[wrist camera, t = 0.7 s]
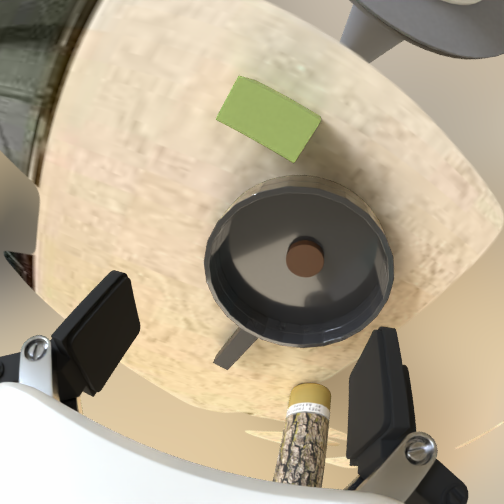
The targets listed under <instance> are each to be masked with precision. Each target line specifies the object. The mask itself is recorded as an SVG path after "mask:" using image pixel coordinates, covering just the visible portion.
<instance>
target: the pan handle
mask: <svg viewBox="0 0 504 504" xmlns="http://www.w3.org/2000/svg"><path fill="white" fill-rule="evenodd" d="M257 339H258V337H256V336H254V335H252V334H250V333H248V332H246V331H245V330H243V329H242V328H240V327H239V328H238V329H237V330H236V332H235V333H234V334H233V335H232V336H231V338H230V339H229V340H228V341H227V343H226V344H225V345H224V346H223V347H222V349H221V350H220V351H219V352H218V354H217V355H216V357H215V359H214V362H213V363H215V364H217V365H218V366H220V367H222V368H224V369H226V370H228V369H229V368H230V367H231V366H232V365H233V364H234V363H235V362H236V361H237V360H238V359H239V358H240V357H241V356H242V354H243V353H244V352H245V351H246V350H247V349H248V348H249V347H250V346H251V345H252V344H253V343H254V342H255V341H256V340H257Z"/></svg>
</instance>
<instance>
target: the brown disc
mask: <svg viewBox="0 0 504 504" xmlns="http://www.w3.org/2000/svg"><path fill="white" fill-rule="evenodd" d="M286 265H287V267H288V269H289V270H290V271H291V272H292V273H293V274H295V275H297V276H299V277H312V276H314V275H316V274H318V273H319V272H320V271H321V269H322V268H323V265H324V253H323V251H322V249H321V247H320V246H319V245H317V244H316V243H314V242H312V241H308V240H302V241H298V242H296V243H294V244H292V245H291V246H290V248H289V249H288V252H287V256H286Z"/></svg>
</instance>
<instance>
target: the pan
mask: <svg viewBox="0 0 504 504" xmlns="http://www.w3.org/2000/svg"><path fill="white" fill-rule="evenodd" d="M302 240H308V241H312V242H314V243H316V244H317V245H319V246H320V247H321V249H322V251H323V253H324V265H323V268H322V269H321V271H320V272H319V273H318V274H316V275H314V276H312V277H299V276H297V275H295V274H293V273H292V272H291V271H290V270H289V269H288V267H287V265H286V256H287V252H288V249H289V248H290V246H291V245H292V244H294V243H296V242H298V241H302ZM204 267H205V275H206V282H207V284H208V287H209V289H210V291H211V293H212V296H213V298H214V300H215V302H216V303H217V304H218V306H219V307H220V308H221V309H222V311H223V312H224V313H225V315H226V316H227V317H228V318H229V319H231V320H232V321H233V322H234V323H235V324H237V325H238V326H239V327H240V328H242V329H243V330H245V331H246V332H248V333H250V334H252V335H254V336H256V337H258V338H260V339H262V340H265V341H268V342H272V343H275V344H278V345H282V346H290V347H299V348H307V347H319V346H325V345H329V344H333V343H336V342H339V341H343V340H345V339H347V338H349V337H351V336H352V335H354V334H356V333H358V332H360V331H361V330H363V329H364V328H365V327H366V326H367V325H368V324H369V323H371V322H372V321H373V320H374V319H375V318H376V317H377V316H378V314H379V313H380V311H381V310H382V308H383V307H384V305H385V303H386V302H387V300H388V298H389V295H390V291H391V288H392V284H393V281H394V263H393V255H392V252H391V249H390V246H389V244H388V241H387V238H386V236H385V233H384V231H383V228H382V226H381V224H380V221H379V219H378V218H377V217H376V215H375V214H374V212H373V211H372V209H371V208H370V207H369V206H368V205H367V204H366V203H365V202H364V201H363V200H362V199H361V198H360V197H359V196H358V195H356V194H355V193H354V192H352V191H351V190H349V189H347V188H346V187H344V186H342V185H340V184H338V183H335V182H333V181H331V180H327V179H324V178H320V177H314V176H307V175H290V176H283V177H278V178H274V179H270V180H267V181H265V182H262V183H260V184H258V185H256V186H254V187H252V188H251V189H249V190H248V191H246V192H245V193H243V194H242V195H241V196H240V197H239V198H238V199H237V200H236V201H235V202H234V203H233V204H232V205H231V206H230V207H229V208H228V209H227V210H226V212H225V213H224V214H223V215H222V217H221V218H220V219H219V220H218V222H217V224H216V226H215V227H214V229H213V231H212V233H211V235H210V237H209V239H208V241H207V246H206V252H205V258H204Z"/></svg>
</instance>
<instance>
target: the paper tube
mask: <svg viewBox="0 0 504 504" xmlns="http://www.w3.org/2000/svg"><path fill="white" fill-rule="evenodd" d="M330 402H331V393H330V391H329V390H328V389H327V388H326V387H325V386H323V385H320V384H316V383H305V384H300V385H298V386H296V387H295V388H294V389H293V390H292V391H291V394H290V400H289V405H288V410H287V415H286V420H285V426H284V431H283V436H282V441H281V446H280V450H279V455H278V460H277V464H276V469H275V474H274V478H273V482H278V483H285V484H292V485H299V486H307V487H316V488H321V487H322V480H323V473H324V466H325V458H326V449H327V439H328V429H329V417H330Z"/></svg>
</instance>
